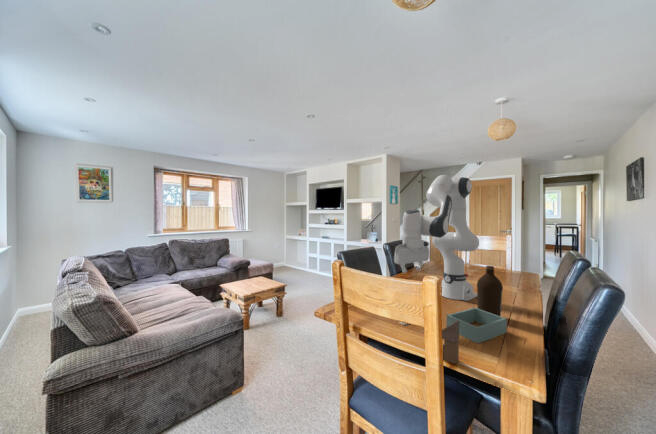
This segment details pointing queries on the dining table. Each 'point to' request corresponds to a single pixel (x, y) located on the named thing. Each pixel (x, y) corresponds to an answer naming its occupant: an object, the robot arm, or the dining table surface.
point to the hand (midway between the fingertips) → (411, 271)
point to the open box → (479, 334)
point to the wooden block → (451, 343)
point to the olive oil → (489, 292)
